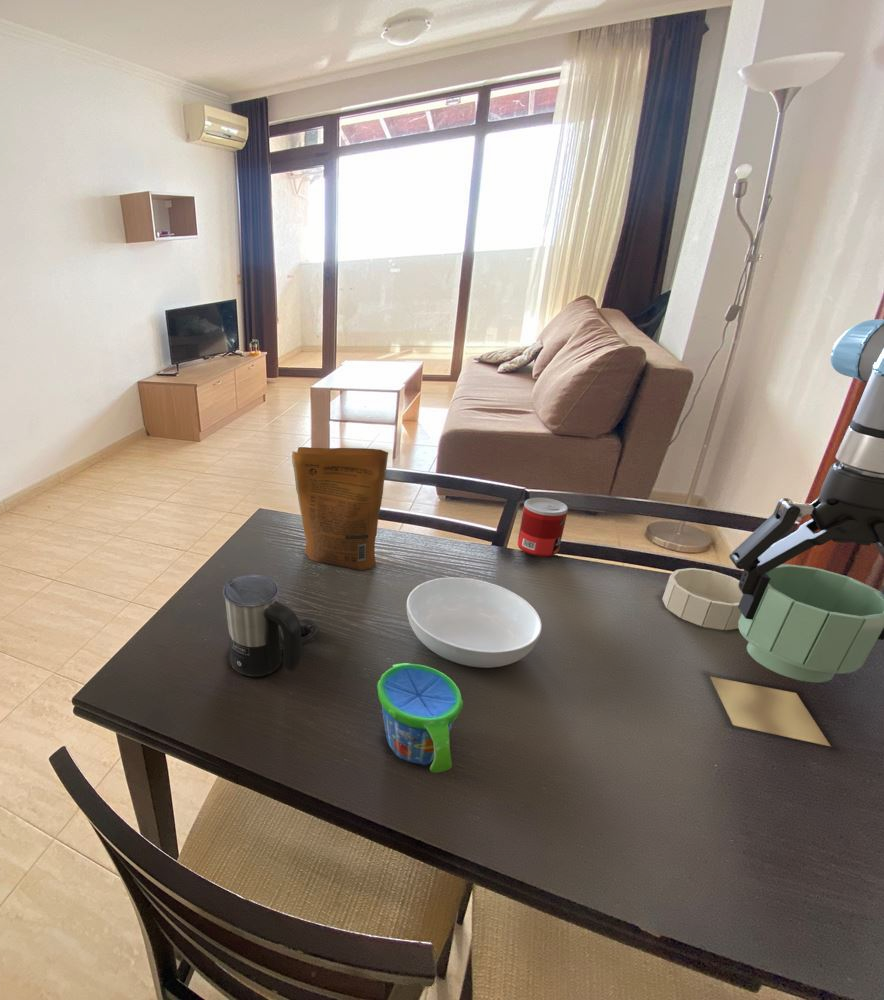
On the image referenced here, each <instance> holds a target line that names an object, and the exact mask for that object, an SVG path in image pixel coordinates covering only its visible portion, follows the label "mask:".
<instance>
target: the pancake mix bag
mask: <svg viewBox="0 0 884 1000" xmlns="http://www.w3.org/2000/svg"><path fill="white" fill-rule="evenodd" d="M388 458H389V452H388V451H385V450H383V449H378V448H363V447H362V448H361V447H330V448H329V447H325V448H324V447H309V446H308V447H307V446H298V447H297V451H296V450H292V453H291V463H292V467H293V472H294V482H295V490H296V494H297V500H298V506H299V511H300V515H301V522H302V529H303V533H304V538H305V542H306V544H305V547H304V554H305V555H306V556H307V557H308V558H309V560H311V561H313V562H315V563H320V564H325V565H329V566H337V567H342V568H348V569H352V570H357V571H364V570H369V569H372V568H375V567H377V561H376V560H377V559H376V548H375V547H376V546H375V545H376V539H377V534H378V524H379V515H380V512H381V507H382V502H383V496H384V486H385V485H384V484H385V479H386V476H387V465H388Z"/></svg>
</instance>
